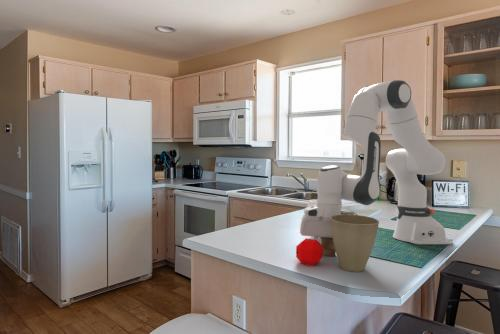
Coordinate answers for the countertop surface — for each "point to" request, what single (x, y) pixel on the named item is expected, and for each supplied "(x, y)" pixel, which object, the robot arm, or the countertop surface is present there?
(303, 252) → the ball
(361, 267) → the plant pot
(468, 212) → the countertop surface
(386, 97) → the robot arm
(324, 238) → the walnut block
